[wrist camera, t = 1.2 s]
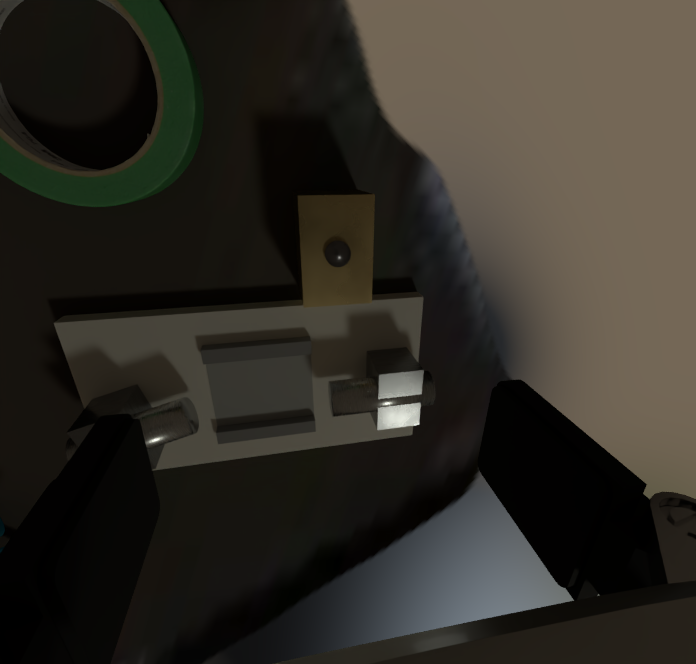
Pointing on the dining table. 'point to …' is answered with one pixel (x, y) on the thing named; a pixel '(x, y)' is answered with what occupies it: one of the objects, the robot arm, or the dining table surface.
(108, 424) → the robot arm
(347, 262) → the tan box with knob
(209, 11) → the dining table surface
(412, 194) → the dining table surface
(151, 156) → the tape roll
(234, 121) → the dining table surface
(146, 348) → the mounting base plate
